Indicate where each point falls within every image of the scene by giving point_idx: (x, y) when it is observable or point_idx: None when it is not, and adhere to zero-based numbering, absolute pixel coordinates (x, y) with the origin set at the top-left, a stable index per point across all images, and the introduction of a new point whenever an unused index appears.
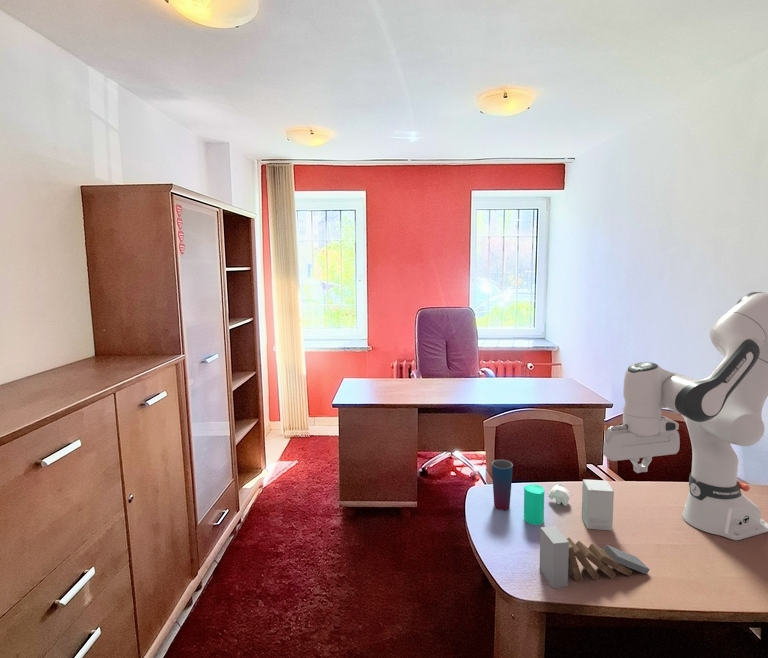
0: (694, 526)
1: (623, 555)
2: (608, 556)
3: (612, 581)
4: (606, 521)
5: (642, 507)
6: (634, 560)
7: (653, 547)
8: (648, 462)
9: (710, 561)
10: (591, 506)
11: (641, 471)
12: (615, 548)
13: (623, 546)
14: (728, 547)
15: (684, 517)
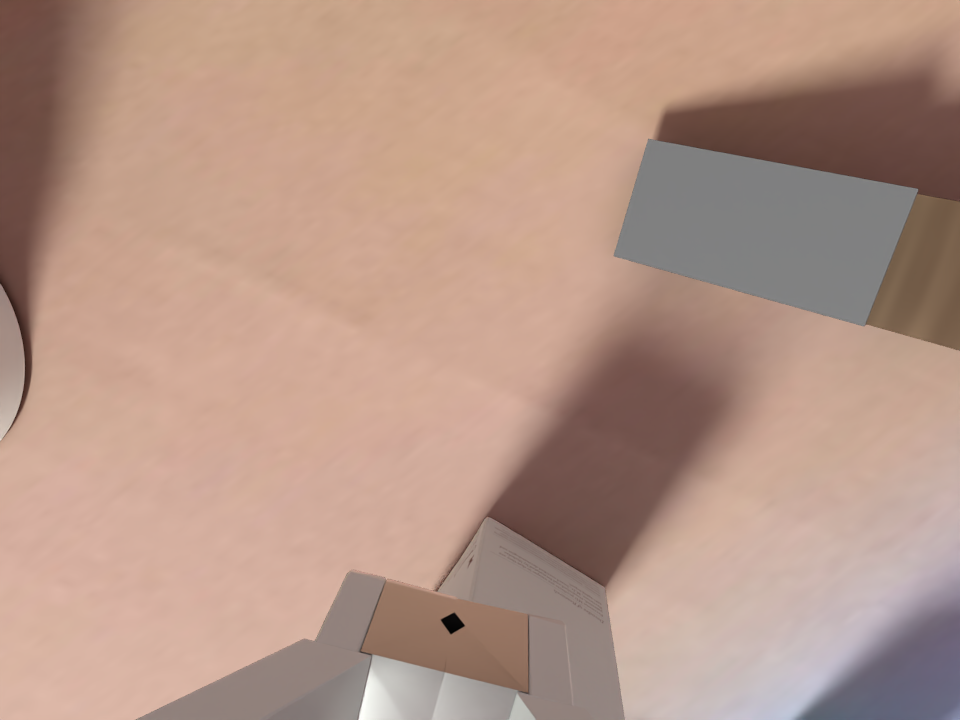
0: (19, 344)
1: (794, 228)
2: (934, 241)
3: (896, 180)
4: (514, 560)
5: (132, 599)
6: (714, 199)
7: (402, 309)
8: (264, 703)
9: (216, 87)
10: (600, 673)
11: (480, 609)
12: (784, 299)
13: (554, 385)
14: (7, 137)
15: (2, 422)
